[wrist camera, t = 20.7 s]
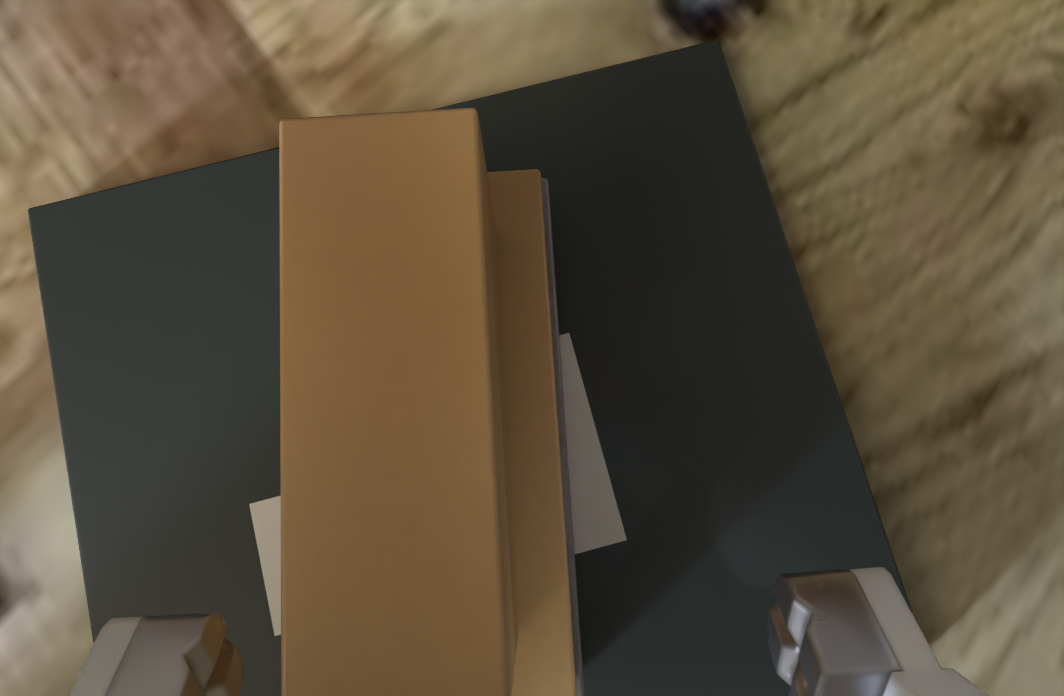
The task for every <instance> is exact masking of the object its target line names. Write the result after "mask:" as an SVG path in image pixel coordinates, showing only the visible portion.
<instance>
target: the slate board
mask: <svg viewBox="0 0 1064 696" xmlns="http://www.w3.org/2000/svg"><path fill="white" fill-rule="evenodd" d="M459 108H474V109H476V110H477V112H478V115H479V122H480V129H481V135H482V142H483V148H484V155H485V161H486V168H487V172H499V171H516V170H532V169H538V170H540V172H541V178H546V179H547V180H548V183H549V198H550V212H551V226H552V240H553V254H554V269H555V283H556V297H557V311H558V325H559V339H560V354H561V368H562V382H563V396H564V410H565V425H566V439H567V453H568V467H569V481H570V495H571V510H572V524H573V538H574V552H575V566H576V581H577V595H578V609H579V623H580V637H581V651H582V666H583V680H584V696H789V692H790V688H791V686H790V685H789V684H788V683H787V682H786V681H784V680H783V679H782V678H781V677H780V676H779V675H778V674H777V673H776V670H775V666H774V663H773V660H772V657H771V652H770V648H769V643H768V631H767V621H768V615H769V609H770V608H771V607H773V606H774V605H775V604H776V603H777V602H778V601H777V598H776V596H775V593H774V585H775V581H776V578H777V577H778V576H779V575H780V574H786V573H798V572H811V571H823V570H835V569H846V570H849V569H861V568H873V567H884V568H885V569H886V570H887V571H888V572H889V573H890V574H891V575H892V577H893V579H894V581H895V583H896V585H897V587H898V588H899V590H900V592H901V594H902V596H903V598H904V599H905V601H906V603H907V605H908V607H909V609H910V611H911V612H912V610H911V607H910V604H909V601H908V598H907V595H906V592H905V589H904V587H903V584H902V581H901V578H900V575H899V572H898V569H897V566H896V563H895V560H894V557H893V554H892V551H891V548H890V545H889V542H888V539H887V536H886V533H885V530H884V527H883V524H882V521H881V518H880V516H879V513H878V510H877V507H876V504H875V501H874V498H873V495H872V492H871V489H870V486H869V483H868V480H867V477H866V474H865V471H864V468H863V465H862V462H861V459H860V456H859V453H858V450H857V447H856V445H855V442H854V439H853V436H852V433H851V430H850V427H849V424H848V421H847V418H846V415H845V412H844V409H843V406H842V403H841V400H840V397H839V394H838V391H837V388H836V385H835V382H834V379H833V376H832V374H831V371H830V368H829V365H828V362H827V359H826V356H825V353H824V350H823V347H822V344H821V341H820V338H819V335H818V332H817V329H816V326H815V323H814V320H813V317H812V314H811V311H810V308H809V305H808V303H807V300H806V297H805V294H804V291H803V288H802V285H801V282H800V279H799V276H798V273H797V270H796V267H795V264H794V261H793V258H792V255H791V252H790V249H789V246H788V243H787V240H786V237H785V234H784V232H783V229H782V226H781V223H780V220H779V217H778V214H777V211H776V208H775V205H774V202H773V199H772V196H771V193H770V190H769V187H768V184H767V181H766V178H765V175H764V172H763V169H762V166H761V163H760V161H759V158H758V155H757V152H756V149H755V146H754V143H753V140H752V137H751V134H750V131H749V128H748V125H747V122H746V119H745V116H744V113H743V110H742V107H741V104H740V101H739V98H738V95H737V92H736V90H735V87H734V84H733V81H732V78H731V75H730V72H729V69H728V66H727V63H726V60H725V57H724V54H723V51H722V48H721V45H720V42H719V41H718V40H715V41H711V42H707V43H703V44H699V45H695V46H691V47H686V48H682V49H678V50H674V51H670V52H666V53H662V54H658V55H654V56H650V57H646V58H642V59H637V60H633V61H629V62H625V63H621V64H617V65H613V66H609V67H605V68H601V69H597V70H593V71H589V72H584V73H580V74H576V75H572V76H568V77H564V78H560V79H556V80H552V81H548V82H544V83H540V84H535V85H531V86H527V87H523V88H519V89H515V90H511V91H507V92H503V93H499V94H495V95H491V96H487V97H482V98H478V99H474V100H470V101H466V102H462V103H458V104H454V105H450V106H446V107H442V108H438V109H433V110H443V109H459ZM28 214H29V221H30V228H31V234H32V241H33V247H34V254H35V260H36V267H37V274H38V280H39V287H40V293H41V300H42V306H43V313H44V320H45V326H46V333H47V339H48V346H49V353H50V359H51V366H52V372H53V379H54V385H55V392H56V399H57V405H58V412H59V418H60V425H61V431H62V438H63V445H64V451H65V458H66V464H67V471H68V477H69V484H70V491H71V497H72V504H73V510H74V517H75V524H76V530H77V537H78V543H79V550H80V556H81V563H82V570H83V576H84V583H85V589H86V596H87V602H88V609H89V616H90V622H91V629H92V635H93V642H95V640H96V638H97V636H98V634H99V632H100V630H101V629H102V627H103V626H104V625H105V624H106V623H107V622H108V621H109V620H110V619H111V618H121V617H137V616H160V615H181V614H202V613H221V615H222V617H223V619H224V620H225V622H226V624H227V626H228V627H227V630H226V633H225V636H224V638H225V639H227V640H228V641H230V642H232V643H233V644H235V645H236V646H237V648H238V651H239V653H240V656H241V662H242V669H243V672H242V685H241V693H240V696H281V472H280V186H279V147H278V148H274V149H270V150H266V151H262V152H258V153H254V154H250V155H246V156H242V157H238V158H234V159H229V160H225V161H221V162H217V163H213V164H209V165H205V166H201V167H197V168H193V169H189V170H185V171H180V172H176V173H172V174H168V175H164V176H160V177H156V178H152V179H148V180H144V181H140V182H136V183H132V184H127V185H123V186H119V187H115V188H111V189H107V190H103V191H99V192H95V193H91V194H87V195H83V196H78V197H74V198H70V199H66V200H62V201H58V202H54V203H50V204H46V205H42V206H38V207H34V208H30V209H28ZM912 614H913V613H912Z"/></svg>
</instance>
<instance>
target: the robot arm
mask: <svg viewBox="0 0 1064 696" xmlns="http://www.w3.org/2000/svg"><path fill="white" fill-rule="evenodd" d="M774 593H775V596H776V598H777V601H778V602H777V603H776V604H775V605H774V606H773V607H771V608H770V609H769V615H768V621H767V631H768V643H769V648H770V652H771V657H772V660H773V663H774V666H775V670H776V673H777V674H778V675H779V676H780V677H781V678H782V679H783V680H784V681H786V682H787V683H788V684H789V685H790V686H791V688H790V692H789V696H989V695H987V694H986V693H985V692H983V691H982V690H981V689H979V688H978V687H977V686H975V685H974V684H973V683H971V682H970V681H969V680H968V679H966V678H965V677H964V676H962V675H961V674H960V673H958V672H957V671H956V670H954V669H953V668H941V666H940V664H939V662H938V660H937V659H936V657H935V655H934V653H933V651H932V649H931V647H930V646H929V644H928V642H927V640H926V638H925V636H924V635H923V633H922V631H921V629H920V627H919V625H918V623H917V622H916V620H915V618H914V616H913V614H912V612H911V611H910V609H909V607H908V605H907V603H906V601H905V599H904V598H903V596H902V594H901V592H900V590H899V588H898V587H897V585H896V583H895V581H894V579H893V577H892V575H891V574H890V573H889V572H888V571H887V570H886V569H885V568H884V567H873V568H861V569H849V570H846V569H835V570H823V571H811V572H798V573H786V574H780V575H779V576H778V577H777V578H776V581H775V585H774ZM227 627H228V626H227V624H226V622H225V620H224V619H223V617H222V615H221V613H202V614H181V615H160V616H137V617H121V618H111V619H110V620H109V621H108V622H107V623H106V624H105V625H104V626H103V627H102V629H101V630H100V632H99V634H98V636H97V638H96V640H95V642H94V644H93V646H92V648H91V650H90V652H89V654H88V656H87V658H86V660H85V662H84V664H83V667H82V669H81V671H80V673H79V675H78V677H77V679H76V681H75V683H74V685H73V687H72V689H71V691H70V693H69V695H68V696H240V693H241V685H242V672H243V669H242V662H241V656H240V653H239V651H238V648H237V646H236V645H235V644H233V643H232V642H230V641H228V640H227V639H225V638H224V636H225V633H226V630H227Z"/></svg>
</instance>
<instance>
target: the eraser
mask: <svg viewBox="0 0 1064 696" xmlns="http://www.w3.org/2000/svg"><path fill="white" fill-rule="evenodd" d="M279 186H280V472H281V696H584V680H583V666H582V651H581V637H580V623H579V609H578V595H577V581H576V566H575V552H574V538H573V524H572V510H571V495H570V481H569V467H568V453H567V439H566V425H565V410H564V396H563V382H562V368H561V354H560V339H559V325H558V311H557V297H556V283H555V269H554V254H553V240H552V226H551V212H550V198H549V183H548V180H547V179H546V178H541V172H540V170H538V169H532V170H516V171H499V172H487V168H486V161H485V155H484V148H483V142H482V135H481V129H480V122H479V115H478V112H477V110H476V109H474V108H459V109H443V110H426V111H409V112H392V113H376V114H359V115H342V116H326V117H309V118H292V119H283V120H281V121H280V124H279Z"/></svg>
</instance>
